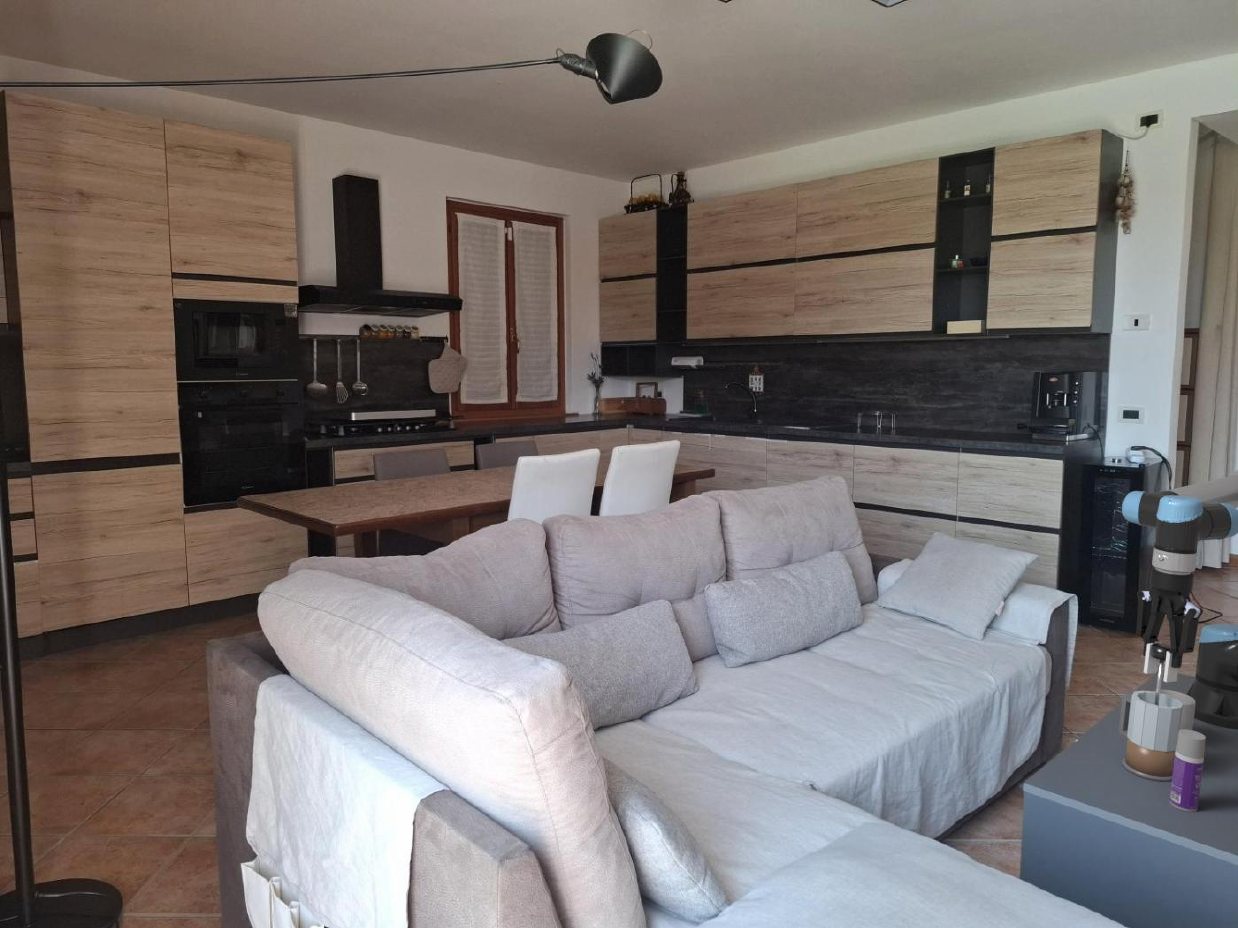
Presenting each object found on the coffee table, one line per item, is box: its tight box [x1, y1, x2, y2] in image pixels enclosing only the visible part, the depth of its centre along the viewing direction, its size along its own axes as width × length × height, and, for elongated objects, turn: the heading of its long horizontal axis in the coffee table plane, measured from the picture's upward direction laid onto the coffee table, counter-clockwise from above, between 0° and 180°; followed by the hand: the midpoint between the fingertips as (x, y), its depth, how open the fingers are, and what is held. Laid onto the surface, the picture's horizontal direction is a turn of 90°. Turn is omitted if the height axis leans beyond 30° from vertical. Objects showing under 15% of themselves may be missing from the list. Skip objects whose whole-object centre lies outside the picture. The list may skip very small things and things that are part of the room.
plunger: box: [1151, 642, 1171, 706], centre depth 178 cm, size 6×6×18 cm
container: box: [1169, 729, 1207, 813], centre depth 165 cm, size 5×5×15 cm
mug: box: [1152, 689, 1196, 731], centre depth 194 cm, size 12×8×11 cm
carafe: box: [1118, 690, 1183, 783], centre depth 180 cm, size 10×12×16 cm
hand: (1159, 676), depth 177 cm, fingers closed on plunger, 4 cm apart
